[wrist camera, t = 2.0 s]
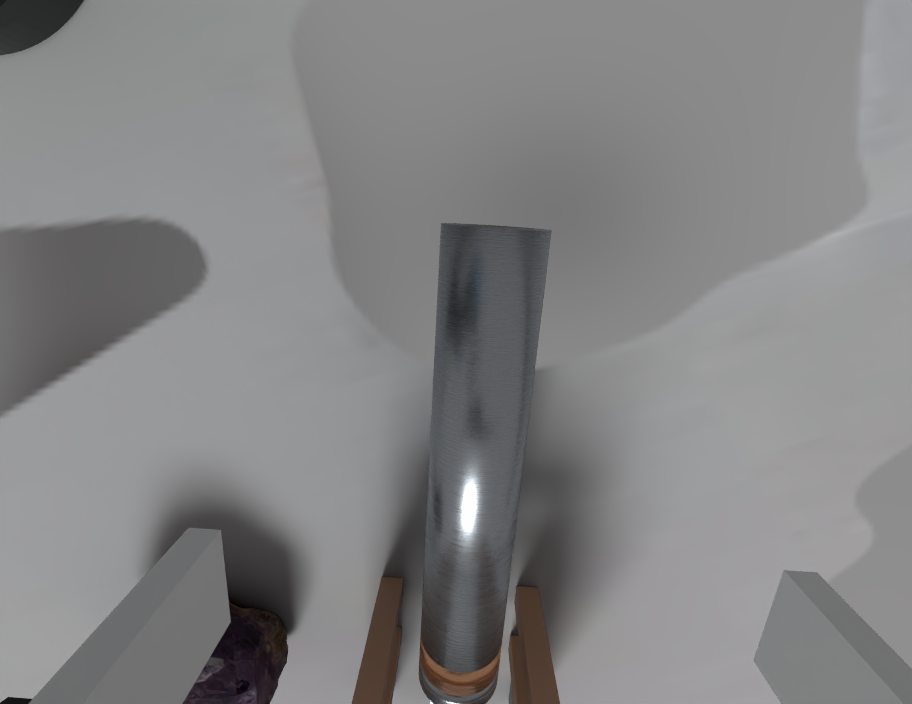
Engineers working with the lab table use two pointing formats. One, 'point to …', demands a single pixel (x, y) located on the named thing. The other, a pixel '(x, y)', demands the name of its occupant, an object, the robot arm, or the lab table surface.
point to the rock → (243, 661)
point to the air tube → (477, 449)
